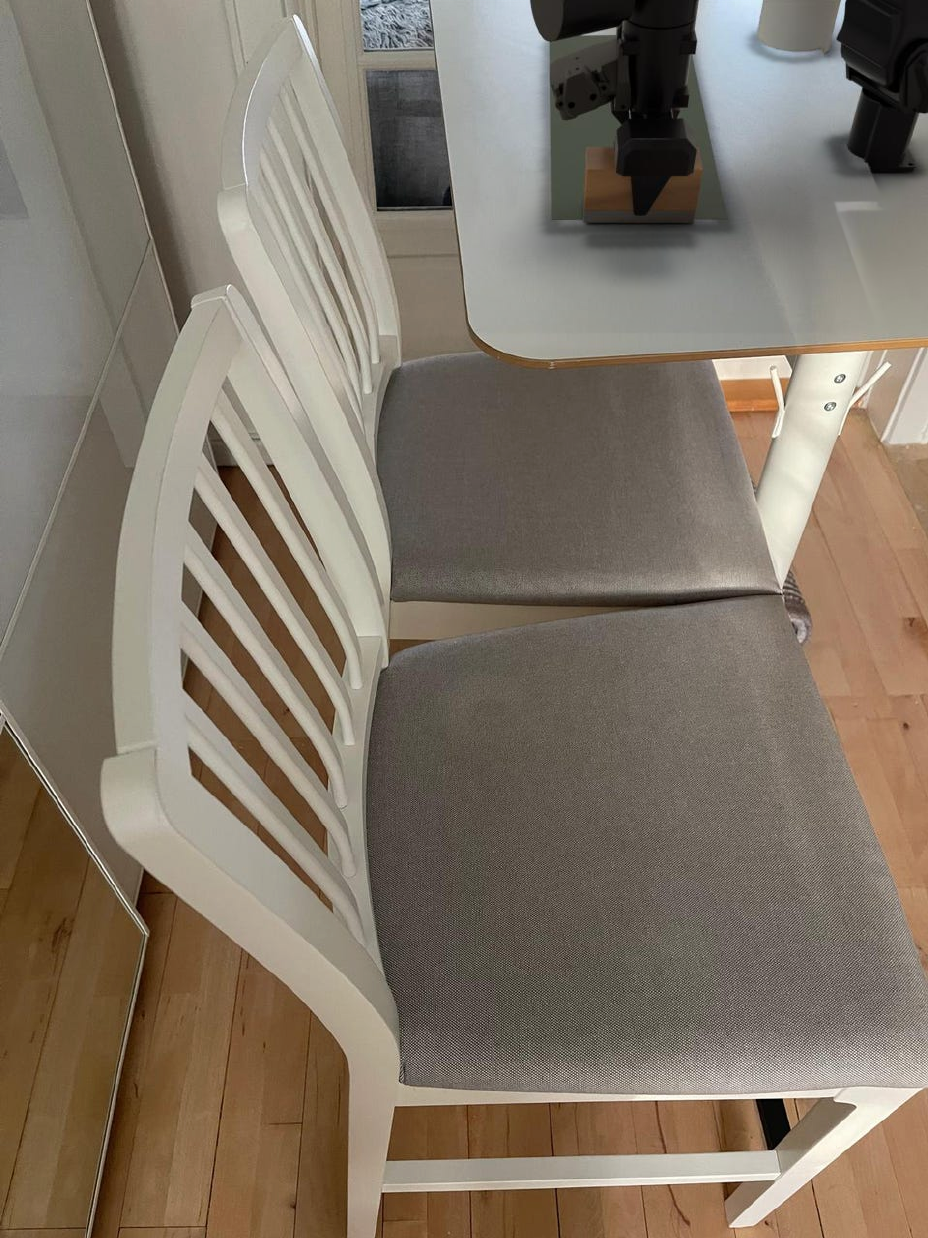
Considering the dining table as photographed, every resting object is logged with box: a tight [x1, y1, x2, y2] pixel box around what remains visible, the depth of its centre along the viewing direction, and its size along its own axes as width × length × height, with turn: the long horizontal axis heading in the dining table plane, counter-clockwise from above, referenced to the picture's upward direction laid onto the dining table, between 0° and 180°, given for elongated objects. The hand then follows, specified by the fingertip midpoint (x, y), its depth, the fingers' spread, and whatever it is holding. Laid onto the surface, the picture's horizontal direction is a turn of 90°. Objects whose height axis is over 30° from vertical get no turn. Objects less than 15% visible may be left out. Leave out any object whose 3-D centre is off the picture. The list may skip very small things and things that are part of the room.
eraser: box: [582, 147, 703, 224], centre depth 88 cm, size 4×10×5 cm, turn 87°
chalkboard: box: [548, 34, 728, 221], centre depth 103 cm, size 40×16×1 cm, turn 177°
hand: (638, 201), depth 90 cm, fingers closed on eraser, 4 cm apart
